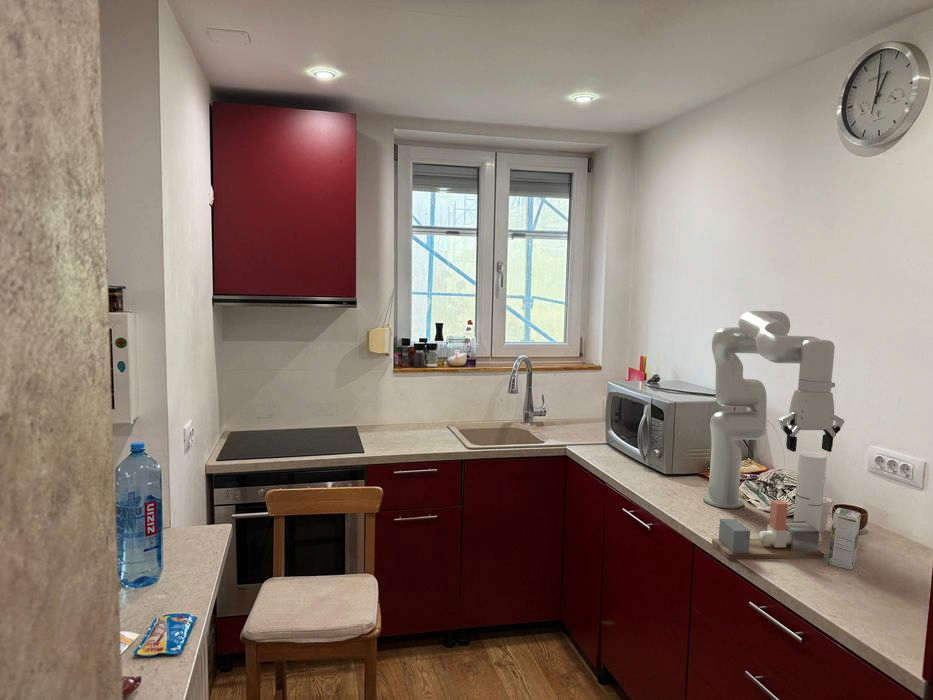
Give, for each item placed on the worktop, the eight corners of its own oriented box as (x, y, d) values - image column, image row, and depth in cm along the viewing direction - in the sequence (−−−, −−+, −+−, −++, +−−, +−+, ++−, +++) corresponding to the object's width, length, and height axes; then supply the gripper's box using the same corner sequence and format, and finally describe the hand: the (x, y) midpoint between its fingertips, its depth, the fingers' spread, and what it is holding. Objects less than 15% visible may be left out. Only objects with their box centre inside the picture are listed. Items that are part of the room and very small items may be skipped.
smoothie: (826, 526, 194) (830, 483, 193) (832, 534, 188) (836, 489, 187) (803, 524, 196) (807, 480, 194) (809, 532, 190) (813, 487, 188)
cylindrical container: (795, 529, 192) (802, 449, 189) (821, 535, 187) (829, 454, 184) (789, 536, 186) (796, 454, 183) (816, 543, 182) (824, 459, 179)
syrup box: (831, 557, 173) (836, 506, 171) (856, 563, 169) (861, 512, 168) (827, 564, 169) (832, 512, 167) (852, 571, 165) (858, 518, 163)
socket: (718, 540, 179) (720, 518, 178) (733, 539, 179) (735, 518, 179) (732, 553, 171) (734, 530, 170) (748, 552, 171) (750, 530, 170)
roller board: (711, 543, 180) (713, 519, 179) (802, 543, 182) (804, 519, 181) (728, 559, 170) (730, 533, 169) (824, 559, 172) (826, 533, 171)
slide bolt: (757, 540, 178) (761, 499, 176) (812, 540, 179) (815, 499, 177) (766, 547, 173) (769, 505, 172) (822, 547, 174) (826, 505, 173)
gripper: (836, 384, 168) (831, 446, 170) (774, 383, 167) (769, 446, 169) (855, 389, 161) (849, 454, 163) (790, 388, 160) (785, 454, 162)
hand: (808, 450), depth 166 cm, fingers open, 9 cm apart
